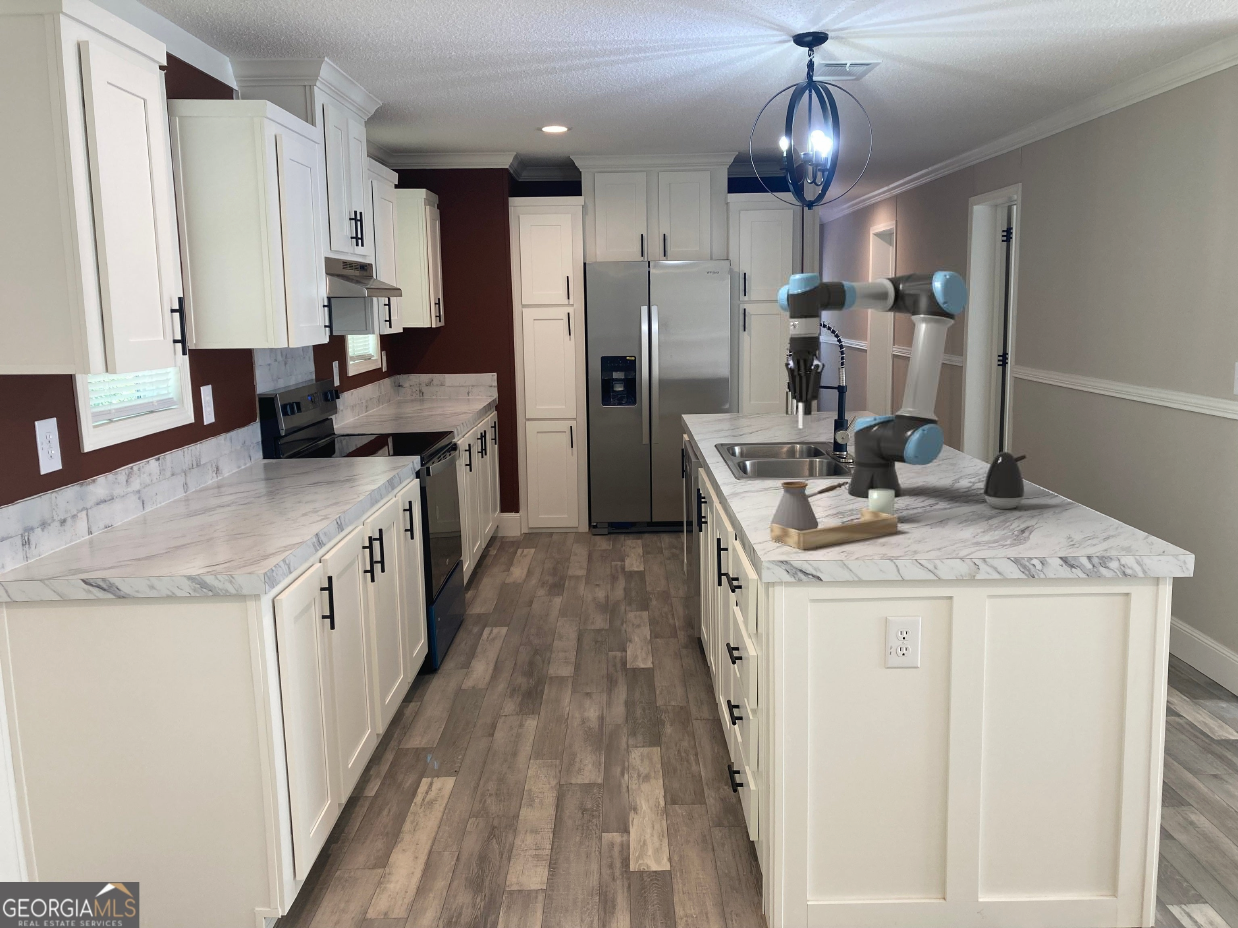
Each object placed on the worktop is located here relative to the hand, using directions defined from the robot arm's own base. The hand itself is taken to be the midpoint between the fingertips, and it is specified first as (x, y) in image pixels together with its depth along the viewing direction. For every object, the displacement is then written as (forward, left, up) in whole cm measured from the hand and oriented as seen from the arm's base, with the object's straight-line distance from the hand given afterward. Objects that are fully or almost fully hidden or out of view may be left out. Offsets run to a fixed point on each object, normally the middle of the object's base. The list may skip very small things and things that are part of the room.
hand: (804, 427), depth 241 cm
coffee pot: (+17, -12, -25) cm, 32 cm away
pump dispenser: (+20, +52, -25) cm, 61 cm away
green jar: (+13, +14, -24) cm, 31 cm away
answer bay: (+19, -7, -24) cm, 31 cm away
